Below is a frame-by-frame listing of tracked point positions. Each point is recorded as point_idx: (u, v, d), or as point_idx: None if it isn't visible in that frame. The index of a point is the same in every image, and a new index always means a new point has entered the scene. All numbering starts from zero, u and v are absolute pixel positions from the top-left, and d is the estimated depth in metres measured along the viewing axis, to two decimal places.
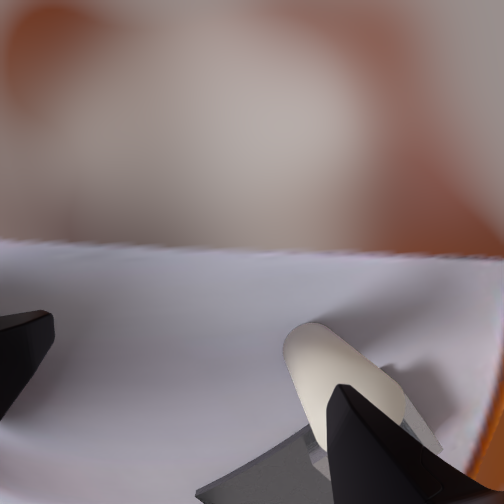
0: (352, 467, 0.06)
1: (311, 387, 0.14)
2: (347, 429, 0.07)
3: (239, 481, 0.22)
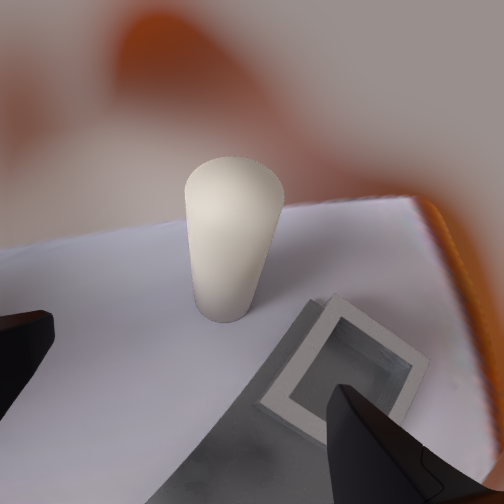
0: (352, 467, 0.06)
1: None
2: (347, 429, 0.07)
3: (185, 476, 0.16)
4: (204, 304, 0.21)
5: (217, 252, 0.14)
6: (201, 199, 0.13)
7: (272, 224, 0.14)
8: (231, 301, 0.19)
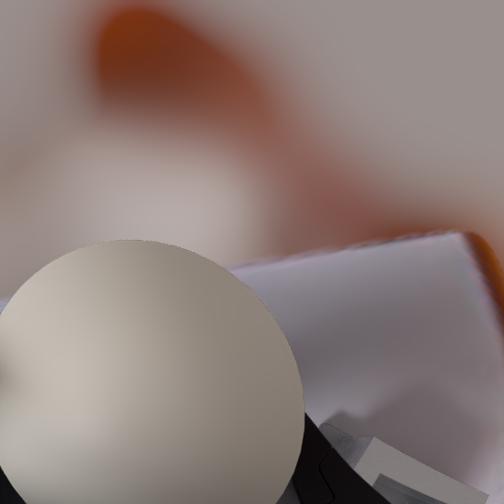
0: None
1: None
2: None
3: None
4: None
5: None
6: (19, 425, 0.03)
7: None
8: None
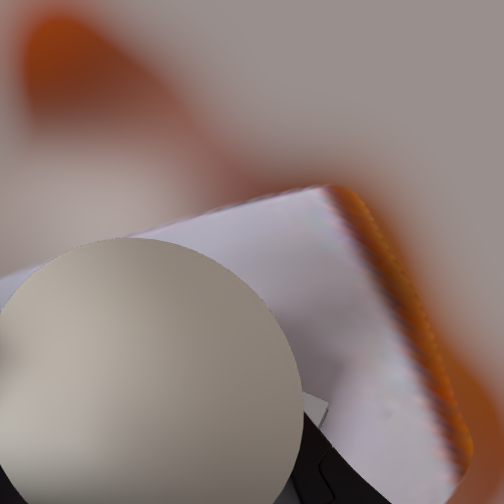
0: None
1: None
2: None
3: None
4: None
5: None
6: (18, 423, 0.03)
7: None
8: None
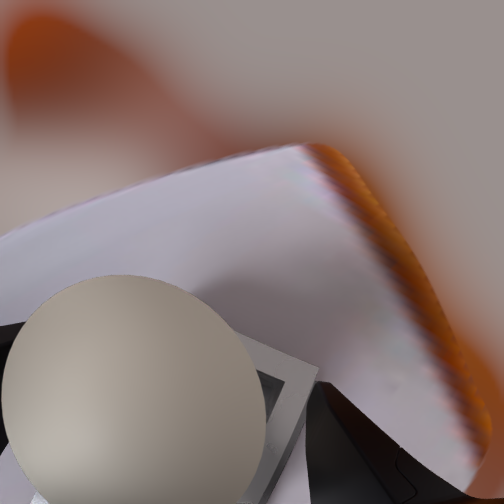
0: (327, 467, 0.06)
1: None
2: (323, 427, 0.07)
3: None
4: None
5: None
6: (35, 431, 0.03)
7: None
8: None
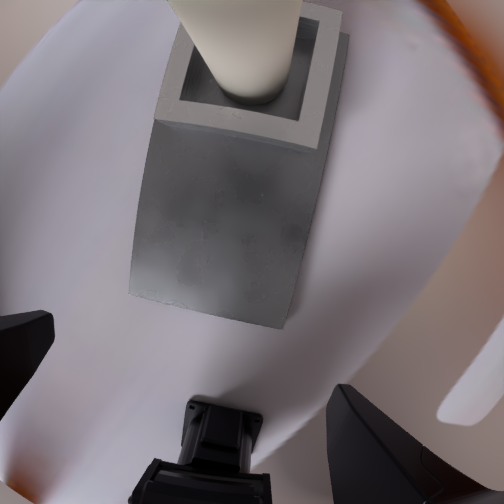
0: (352, 467, 0.06)
1: None
2: (347, 429, 0.07)
3: (144, 230, 0.20)
4: (232, 92, 0.15)
5: (230, 36, 0.08)
6: None
7: None
8: (265, 82, 0.14)
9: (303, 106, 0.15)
